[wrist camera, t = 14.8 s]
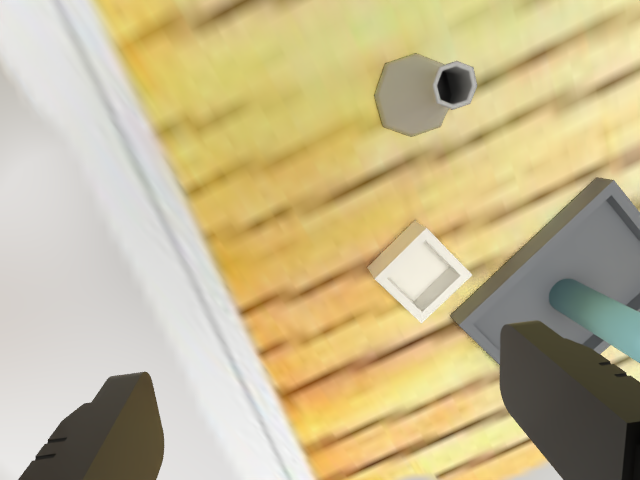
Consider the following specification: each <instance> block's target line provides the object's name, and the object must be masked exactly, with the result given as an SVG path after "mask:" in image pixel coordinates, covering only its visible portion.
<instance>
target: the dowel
mask: <svg viewBox="0 0 640 480" xmlns="http://www.w3.org/2000/svg"><path fill="white" fill-rule="evenodd" d="M549 302H550V304H551V306H552V307H553V308H554V309H556V310H557V311H559V312H560V313H562V314H563V315H565V316H567V317H568V318H570V319H571V320H573V321H574V322H576V323H578V324H579V325H581V326H582V327H584V328H585V329H587V330H589V331H590V332H592V333H593V334H595V335H596V336H598V337H600V338H601V339H603V340H604V341H606V342H607V343H609V344H610V345H612V346H614V347H615V348H617V349H618V350H620V351H621V352H623V353H625V354H626V355H628V356H629V357H631V358H632V359H634V360H636V361H637V362H639V363H640V312H638V311H636V310H634V309H632V308H630V307H628V306H626V305H624V304H622V303H620V302H618V301H616V300H614V299H612V298H610V297H608V296H606V295H604V294H602V293H600V292H598V291H596V290H594V289H592V288H590V287H588V286H586V285H584V284H582V283H580V282H578V281H576V280H573V279H563V280H560V281H558V282H557V283H556V284H555V285H554V286H553V287H552V289H551V290H550V293H549Z"/></svg>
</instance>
